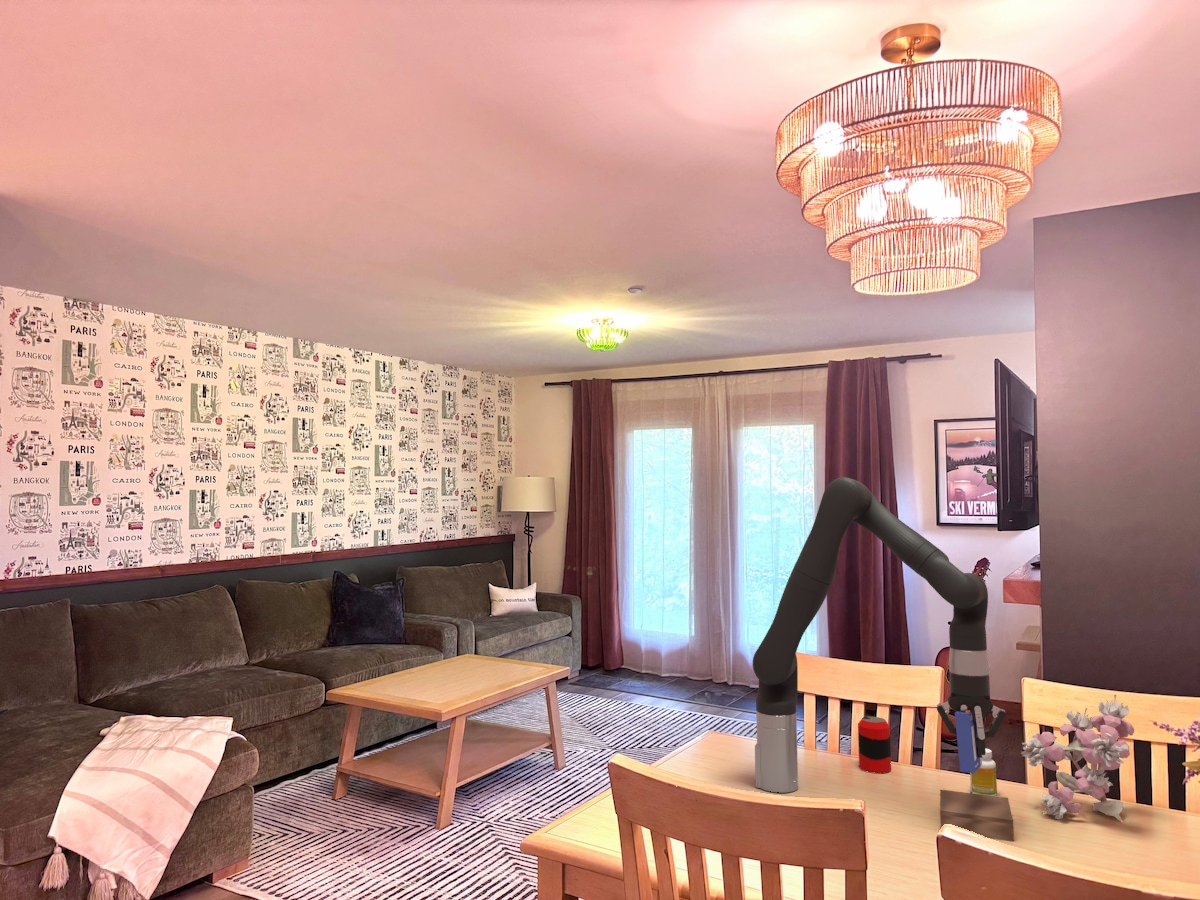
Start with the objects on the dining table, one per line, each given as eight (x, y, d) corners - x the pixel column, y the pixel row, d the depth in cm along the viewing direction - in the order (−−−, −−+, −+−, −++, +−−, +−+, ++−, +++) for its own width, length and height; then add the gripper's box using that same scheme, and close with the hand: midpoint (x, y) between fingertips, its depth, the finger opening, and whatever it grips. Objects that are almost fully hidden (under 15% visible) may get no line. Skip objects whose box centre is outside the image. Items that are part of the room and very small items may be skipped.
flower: (1017, 778, 185) (1007, 690, 178) (1129, 779, 177) (1124, 687, 170) (1035, 848, 168) (1024, 753, 160) (1160, 853, 160) (1155, 753, 152)
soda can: (868, 762, 203) (866, 714, 204) (896, 768, 198) (895, 719, 198) (853, 768, 198) (852, 719, 199) (882, 776, 192) (880, 725, 193)
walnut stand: (941, 831, 159) (940, 810, 159) (940, 808, 171) (940, 789, 171) (1013, 841, 154) (1013, 820, 154) (1008, 817, 166) (1007, 797, 166)
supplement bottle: (1000, 798, 177) (998, 754, 178) (974, 797, 178) (972, 752, 179) (993, 790, 182) (991, 746, 183) (968, 788, 183) (966, 745, 184)
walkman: (974, 773, 160) (968, 712, 161) (960, 771, 161) (954, 711, 163) (983, 763, 166) (977, 704, 167) (968, 762, 168) (963, 703, 169)
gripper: (1004, 669, 166) (1008, 754, 164) (933, 664, 171) (936, 747, 170) (1007, 676, 159) (1011, 765, 158) (932, 671, 164) (936, 757, 163)
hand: (972, 755), depth 164 cm, fingers closed on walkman, 2 cm apart
